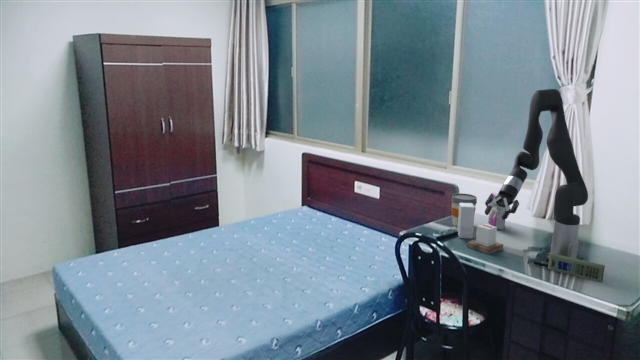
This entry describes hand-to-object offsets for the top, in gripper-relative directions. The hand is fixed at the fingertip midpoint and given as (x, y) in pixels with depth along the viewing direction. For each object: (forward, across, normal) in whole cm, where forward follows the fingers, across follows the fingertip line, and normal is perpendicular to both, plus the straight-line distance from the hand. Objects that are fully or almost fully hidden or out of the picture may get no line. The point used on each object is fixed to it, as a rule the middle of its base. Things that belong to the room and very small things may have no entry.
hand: (494, 216), depth 216 cm
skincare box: (+9, -15, +10) cm, 21 cm away
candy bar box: (-8, -14, +28) cm, 32 cm away
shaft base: (+13, 0, +6) cm, 15 cm away
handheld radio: (+12, +35, +9) cm, 38 cm away
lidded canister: (0, -26, +19) cm, 33 cm away
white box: (+12, 0, +5) cm, 13 cm away
